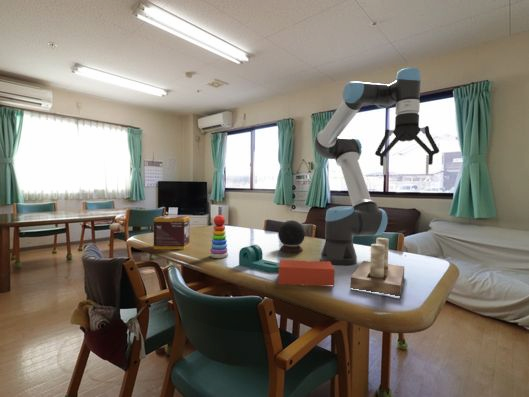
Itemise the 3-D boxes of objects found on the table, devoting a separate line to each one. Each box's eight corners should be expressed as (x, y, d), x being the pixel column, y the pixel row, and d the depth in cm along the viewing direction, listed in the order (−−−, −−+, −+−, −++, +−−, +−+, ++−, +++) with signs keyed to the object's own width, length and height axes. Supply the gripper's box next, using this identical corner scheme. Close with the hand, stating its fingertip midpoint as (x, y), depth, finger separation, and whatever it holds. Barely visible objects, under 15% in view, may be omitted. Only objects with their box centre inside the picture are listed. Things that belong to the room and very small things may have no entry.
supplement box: (184, 249, 137) (184, 218, 136) (153, 249, 137) (153, 218, 137) (190, 245, 148) (190, 216, 147) (161, 244, 148) (161, 215, 147)
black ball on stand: (279, 253, 131) (280, 222, 130) (276, 247, 144) (277, 218, 144) (307, 253, 132) (307, 222, 131) (302, 247, 145) (302, 218, 144)
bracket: (239, 265, 112) (239, 246, 112) (249, 261, 118) (249, 243, 117) (275, 274, 102) (275, 253, 101) (285, 270, 107) (285, 249, 107)
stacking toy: (231, 257, 124) (231, 215, 123) (214, 259, 120) (214, 216, 119) (223, 253, 131) (223, 213, 130) (207, 255, 126) (207, 214, 125)
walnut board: (350, 289, 87) (351, 245, 86) (363, 271, 106) (364, 234, 105) (399, 299, 80) (401, 251, 79) (404, 277, 99) (405, 238, 98)
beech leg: (368, 289, 87) (369, 245, 86) (370, 285, 91) (371, 243, 90) (382, 292, 85) (384, 247, 84) (384, 288, 89) (385, 244, 88)
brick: (278, 285, 91) (278, 267, 91) (279, 276, 100) (279, 259, 100) (334, 287, 90) (334, 269, 89) (330, 278, 99) (330, 261, 98)
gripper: (368, 116, 101) (366, 174, 102) (450, 107, 89) (447, 173, 90) (371, 120, 108) (369, 175, 109) (448, 112, 96) (445, 174, 97)
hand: (404, 174), depth 100 cm, fingers open, 13 cm apart
